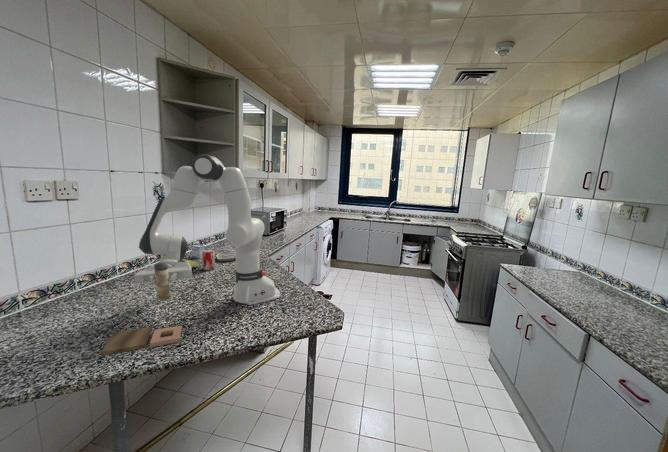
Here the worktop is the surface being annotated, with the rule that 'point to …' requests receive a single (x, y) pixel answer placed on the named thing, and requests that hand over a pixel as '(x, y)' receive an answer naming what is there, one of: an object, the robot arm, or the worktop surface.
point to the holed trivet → (166, 336)
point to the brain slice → (226, 256)
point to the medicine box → (197, 251)
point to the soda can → (208, 259)
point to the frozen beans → (192, 263)
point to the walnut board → (127, 340)
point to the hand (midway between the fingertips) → (162, 280)
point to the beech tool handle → (162, 281)
